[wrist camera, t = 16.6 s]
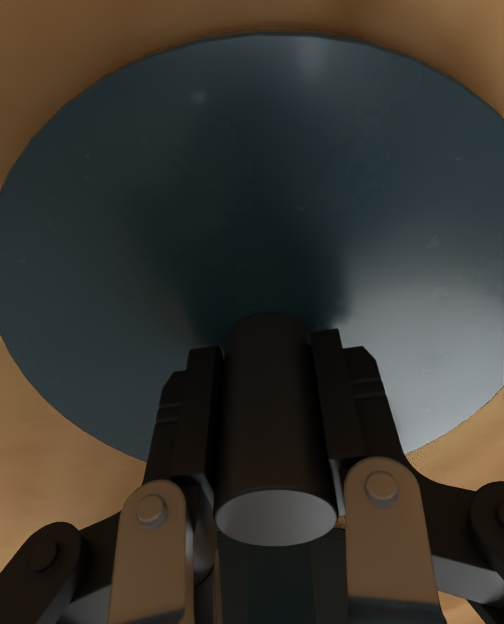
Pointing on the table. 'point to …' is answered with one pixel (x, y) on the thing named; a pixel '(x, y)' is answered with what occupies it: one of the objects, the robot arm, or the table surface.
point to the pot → (284, 581)
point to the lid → (260, 253)
